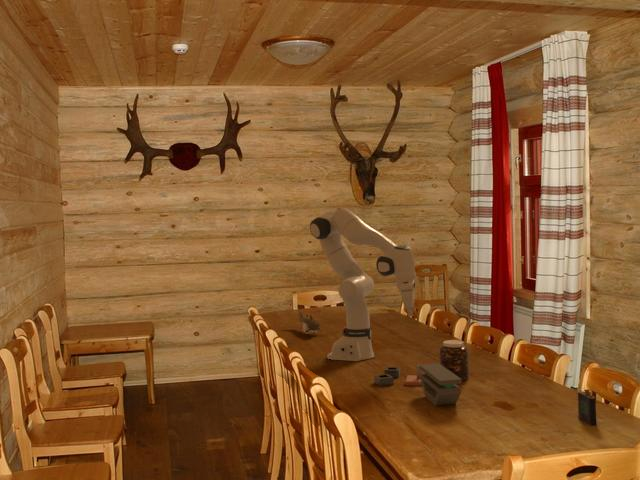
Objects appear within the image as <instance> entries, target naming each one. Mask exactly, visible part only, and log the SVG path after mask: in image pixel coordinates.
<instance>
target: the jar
mask: <svg viewBox="0 0 640 480" xmlns="http://www.w3.org/2000/svg"><path fill="white" fill-rule="evenodd" d="M468 350H469V349H468V347H467V346H466V345H464V341H462V340H458V339H449V340H444V341H443V343H442V345H441V346H439V364H441V365H442V366H443V367H445V368H446V369H448V370H449V371H451V372H452V373H453V374H455V375H456V376H458V377H459V378H461V381H462V382H464V381H467V380H469V378H470V377H469V376H470V375H469V373H470V372H469V368H470V367H469V366H470V365H469V351H468Z"/></svg>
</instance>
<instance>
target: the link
mask: <svg viewBox="0 0 640 480" xmlns="http://www.w3.org/2000/svg"><path fill="white" fill-rule="evenodd" d="M384 374H389V375H390V376H392V377H393V378H400V376H401V366H386V367H385V368H384Z"/></svg>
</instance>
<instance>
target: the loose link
mask: <svg viewBox="0 0 640 480" xmlns="http://www.w3.org/2000/svg"><path fill="white" fill-rule="evenodd" d="M373 379H374V381H373V382H374V384H375V385H377V386H379V387H384V386H390V385H391V386H392V385H394V377H392V376H390V375H389V374H385V373H383V374H376V375H373Z"/></svg>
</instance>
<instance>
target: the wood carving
mask: <svg viewBox="0 0 640 480" xmlns="http://www.w3.org/2000/svg"><path fill="white" fill-rule="evenodd" d="M297 312H298V316H299V317H298V318H299V320H298V321H299V323H300V322H302V332H303V331H304V332H306V333H308V332H316V333H317V330H318V331H320V332H321V331H322V330H321V327H320V323H319V322H318V321H317V320H315V319H313V317H312V315H311V314H309V315H308V314H306V315H304V314H303V312H302V311H301V310H300V309H298V310H297Z"/></svg>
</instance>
